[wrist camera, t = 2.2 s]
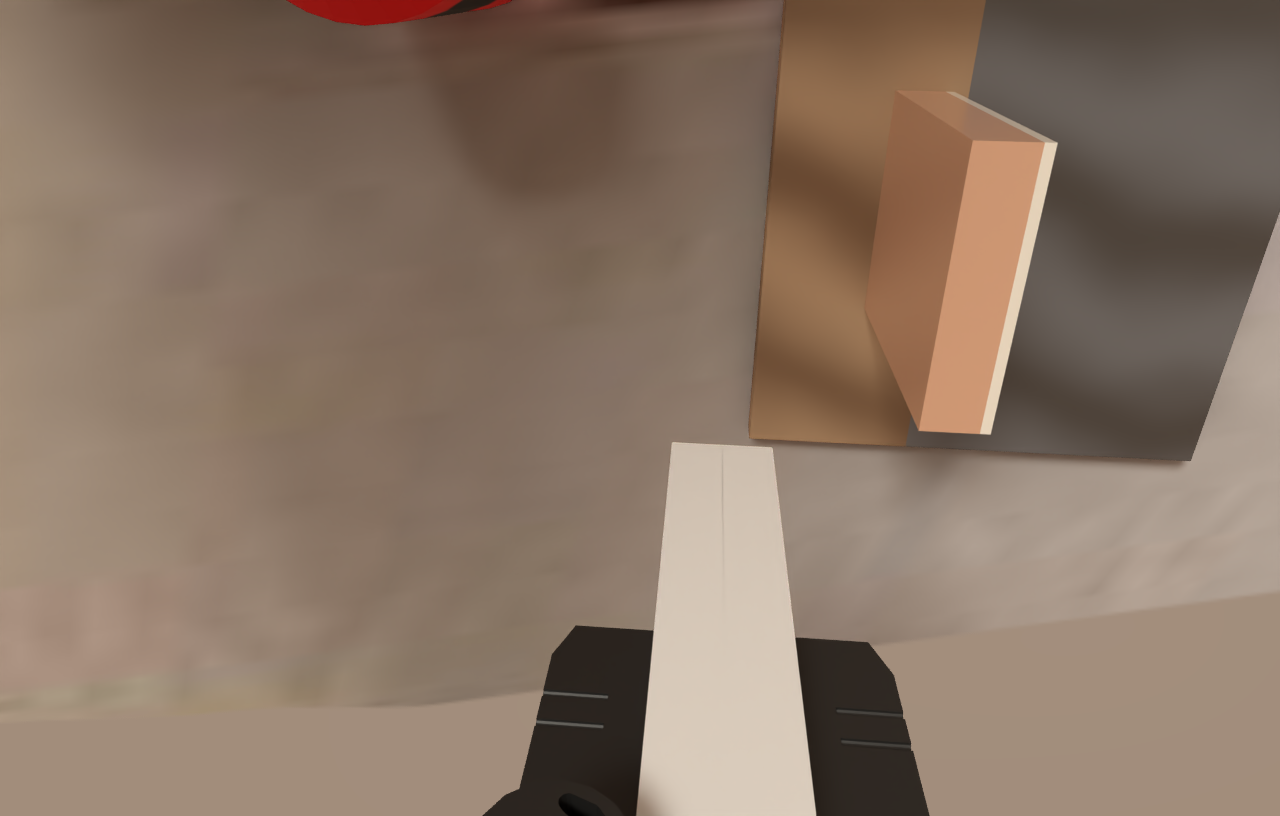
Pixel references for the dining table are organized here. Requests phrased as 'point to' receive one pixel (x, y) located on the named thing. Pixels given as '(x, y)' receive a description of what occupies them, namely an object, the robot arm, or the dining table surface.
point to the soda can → (389, 9)
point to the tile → (954, 253)
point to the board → (1070, 221)
